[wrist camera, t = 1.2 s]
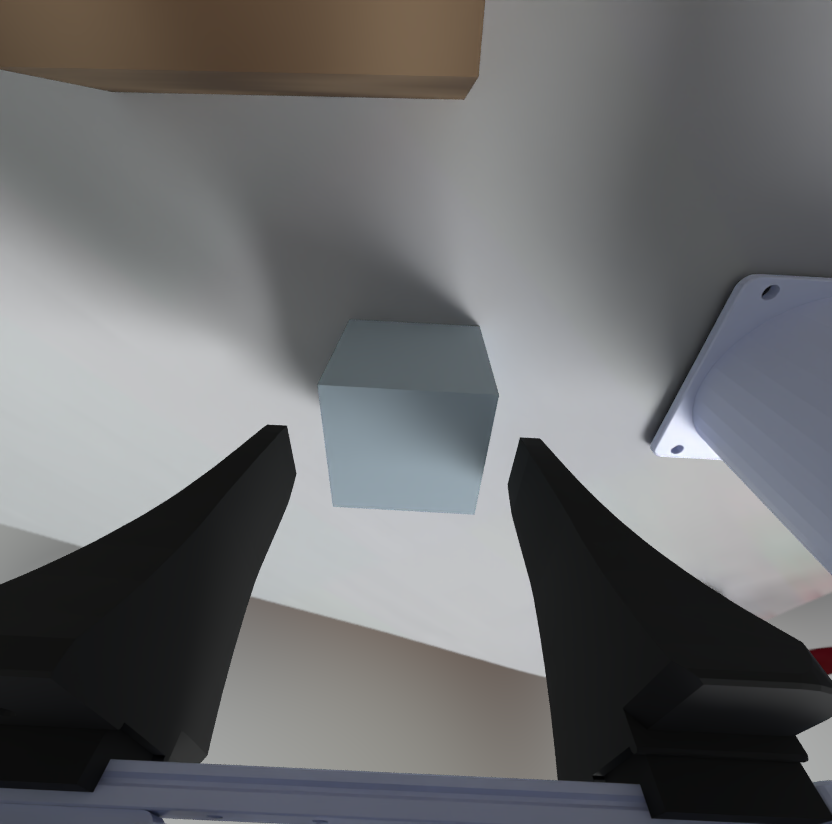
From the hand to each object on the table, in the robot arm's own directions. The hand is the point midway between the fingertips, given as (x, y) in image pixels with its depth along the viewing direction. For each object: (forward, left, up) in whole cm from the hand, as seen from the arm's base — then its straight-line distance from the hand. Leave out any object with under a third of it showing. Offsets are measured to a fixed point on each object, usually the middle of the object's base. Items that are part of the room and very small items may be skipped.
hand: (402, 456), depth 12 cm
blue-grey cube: (0, 0, -5) cm, 5 cm away
